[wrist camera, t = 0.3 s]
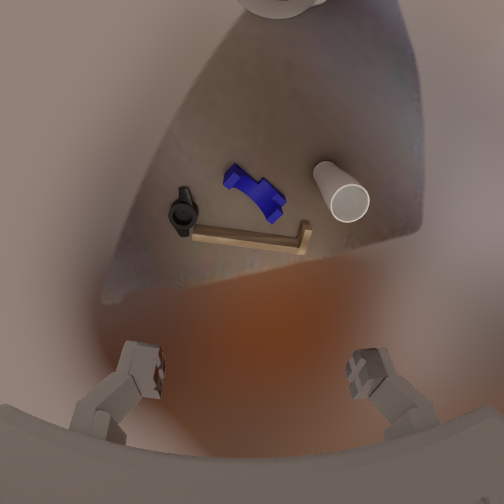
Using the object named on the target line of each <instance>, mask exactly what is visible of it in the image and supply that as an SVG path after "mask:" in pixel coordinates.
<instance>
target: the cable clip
mask: <svg viewBox="0 0 504 504" xmlns="http://www.w3.org/2000/svg"><path fill="white" fill-rule="evenodd" d="M223 185H224V186H225V187H227V188H228V189H229V190H230V188H231V187H234V188H237V189H239V190H241V191H242V192H244V193H245V194H246V195H248V196H249V197H250V198H251V199H252V200H253V201H254V202H255V203H256V204H257V205H258V206H259V208H260V209H261V210H262V212H263V213H264V215H265V217H266V220H267V221H268V222H270V223H271V224H273V223H274V222H275V221H276V220H277V219H278V218H279V217H281V216H282V215H283V211H282V208H281V207H282V206H283V205H284V204H285V203H286V202H287V201H286V198H285V196H284V195H283V194H282V193H281V192H279V191H278V190H277V189H276V188H275V187H274V186H273V185H271V184H270V183H269V182H268V181H267V180H266V179H265V178H262V179H261V180H260V181H259V182H257V181H256V180H254V179H253V178H252V177H251V176H250V175H248V174H247V173H246V172H245V171H244V170H242V169H241V168H240V167H239V166H238V165H236V164H235V163H234V165H233V166H232V167H231V168H230V169H229V170H228V171H227V172H226V173H225V174H224V180H223Z"/></svg>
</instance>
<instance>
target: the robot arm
mask: <svg viewBox="0 0 504 504" xmlns="http://www.w3.org/2000/svg"><path fill="white" fill-rule="evenodd" d="M238 1H239V3H240V4H241V5H242V6H243V7H244V8H245V9H247V10H248V11H250V12H252V13H254V14H256V15H258V16H261V17H265V18H270V19H286V18H290V17H294V16H297V15H299V14H301V13H302V12H304V11H305V10H307V9H308V8H309V7H311V6H316V5H320V4H323V3H325V1H326V0H238ZM162 354H163V347H162V345H155V344H148V343H141V342H135V341H126V343H125V344H124V347H123V350H122V354H121V357H120V360H119V363H118V367H117V370H116V372H112V373H111V374H110V375H109V376H107V377H106V378H105V379H104V380H103V381H102V382H100V383H99V384H98V385H97V386H96V387H95V388H93V389H92V390H91V391H90V392H89V393H87V394H86V395H85V396H84V397H83V398H82V399H81V400H79V401H78V402H77V403H76V406H75V410H74V413H73V416H72V420H71V424H70V427H69V429H66V428H63V427H60V426H57V425H55V424H52V423H49V422H47V421H44V420H42V419H39V418H37V417H35V416H32V415H30V414H28V413H25V412H23V411H21V410H19V409H17V408H15V407H13V406H11V405H8V404H2V405H0V504H504V416H503V415H502V414H501V413H500V412H498V411H497V410H496V409H495V408H493V407H492V406H490V405H483V406H481V407H479V408H477V409H475V410H472V411H470V412H468V413H466V414H464V415H461V416H459V417H457V418H454V419H452V420H449V421H446V422H444V423H441V424H440V421H439V418H438V416H437V413H436V410H435V407H434V405H433V402H432V401H431V400H429V399H428V398H427V397H426V396H425V395H423V394H422V393H421V392H420V391H419V390H418V389H416V388H415V387H414V386H413V385H412V384H410V383H409V382H408V381H407V380H406V379H405V378H403V377H402V376H401V375H398V374H397V371H396V369H395V366H394V364H393V361H392V359H391V357H390V354H389V352H388V349H387V348H385V347H382V348H368V349H357V350H355V351H354V352H353V354H352V355H353V358H351V359H350V360H349V361H348V362H347V364H346V369H345V371H346V377H347V380H348V381H349V382H351V385H350V387H349V389H350V392H351V396H352V399H361V398H368V399H369V400H370V401H371V402H372V403H373V404H374V406H375V407H376V408H377V409H378V410H379V411H380V412H381V413H382V415H383V416H384V417H385V418H386V419H387V420H388V421H389V422H390V423H391V425H390V426H389V427H388V428H387V429H385V430H384V432H383V433H384V437H385V441H384V442H380V443H376V444H372V445H367V446H362V447H358V448H352V449H347V450H341V451H335V452H328V453H321V454H314V455H304V456H293V457H280V458H247V459H246V458H242V459H240V458H214V457H213V458H212V457H199V456H188V455H179V454H171V453H164V452H158V451H151V450H146V449H140V448H135V447H130V446H126V438H127V435H126V434H125V432H124V431H123V430H122V429H121V427H120V426H119V425H118V424H119V423H120V422H121V420H122V419H123V418H124V417H125V416H126V415H127V414H128V413H129V411H130V410H131V409H132V408H133V407H134V406H135V405H136V403H137V402H138V401H139V400H140V399H141V398H142V397H148V398H157V399H161V394H162V389H163V384H162V381H161V380H162V379H163V378H164V377H165V369H166V360H165V356H164V355H162Z"/></svg>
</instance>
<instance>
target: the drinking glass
mask: <svg viewBox="0 0 504 504" xmlns="http://www.w3.org/2000/svg"><path fill="white" fill-rule="evenodd" d="M313 178H314V180H315V182H316V184H317V186H318V188H319V190H320V193H321V195H322V198H323V200H324V202H325V204H326V206H327V207H328V209H329V210H330V212H331V213H332V214H333V216H334V217H335V218H336V219H337V220H339V221H341V222H354V221H356V220H358V219H360V218H361V217H362V216H363V215H364V214H365V213H366V211H367V209H368V207H369V195H368V193H367V191H366V189H365V188H364V187H363V186H362V185H361V184H360V183H359V182H358V181H357V180H356V179H355V178H354V177H352V176H351V175H349V174H348V173H346V172H345V171H343V170H342V169H340V168H339V167H337V166H336V165H335V164H334V163H332V162H330V161H323V162H320V163H319V164H317V165H316V166H315V168H314V170H313Z"/></svg>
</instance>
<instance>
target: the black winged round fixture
mask: <svg viewBox="0 0 504 504" xmlns="http://www.w3.org/2000/svg"><path fill="white" fill-rule="evenodd" d="M184 211H185V212H184ZM197 216H198V207H197V205H196V204H195V203H194V202H193V201H192V199H191V196H190V194H189V191H188V189H185V188H179V199H178V200H176V201H175V202H174V203H173V205H172V207H171V209H170V211H169V214H168V217H169V221H170V223H171V224H172V225H173V226H174V228H175V229H176V231H177V232H178V234H179V235H180V237H188V236H189V230H188V229H189V228H191V227H192V226H194V224H195V223H196V220H197Z"/></svg>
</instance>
